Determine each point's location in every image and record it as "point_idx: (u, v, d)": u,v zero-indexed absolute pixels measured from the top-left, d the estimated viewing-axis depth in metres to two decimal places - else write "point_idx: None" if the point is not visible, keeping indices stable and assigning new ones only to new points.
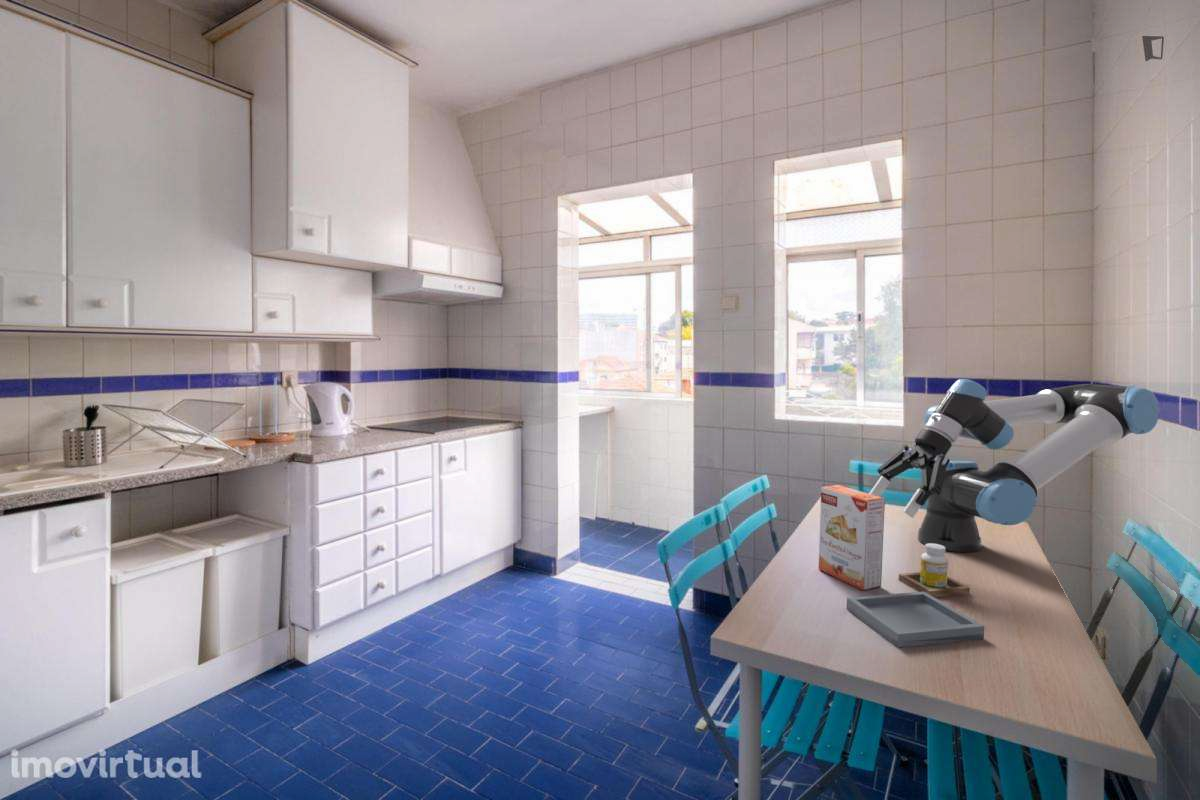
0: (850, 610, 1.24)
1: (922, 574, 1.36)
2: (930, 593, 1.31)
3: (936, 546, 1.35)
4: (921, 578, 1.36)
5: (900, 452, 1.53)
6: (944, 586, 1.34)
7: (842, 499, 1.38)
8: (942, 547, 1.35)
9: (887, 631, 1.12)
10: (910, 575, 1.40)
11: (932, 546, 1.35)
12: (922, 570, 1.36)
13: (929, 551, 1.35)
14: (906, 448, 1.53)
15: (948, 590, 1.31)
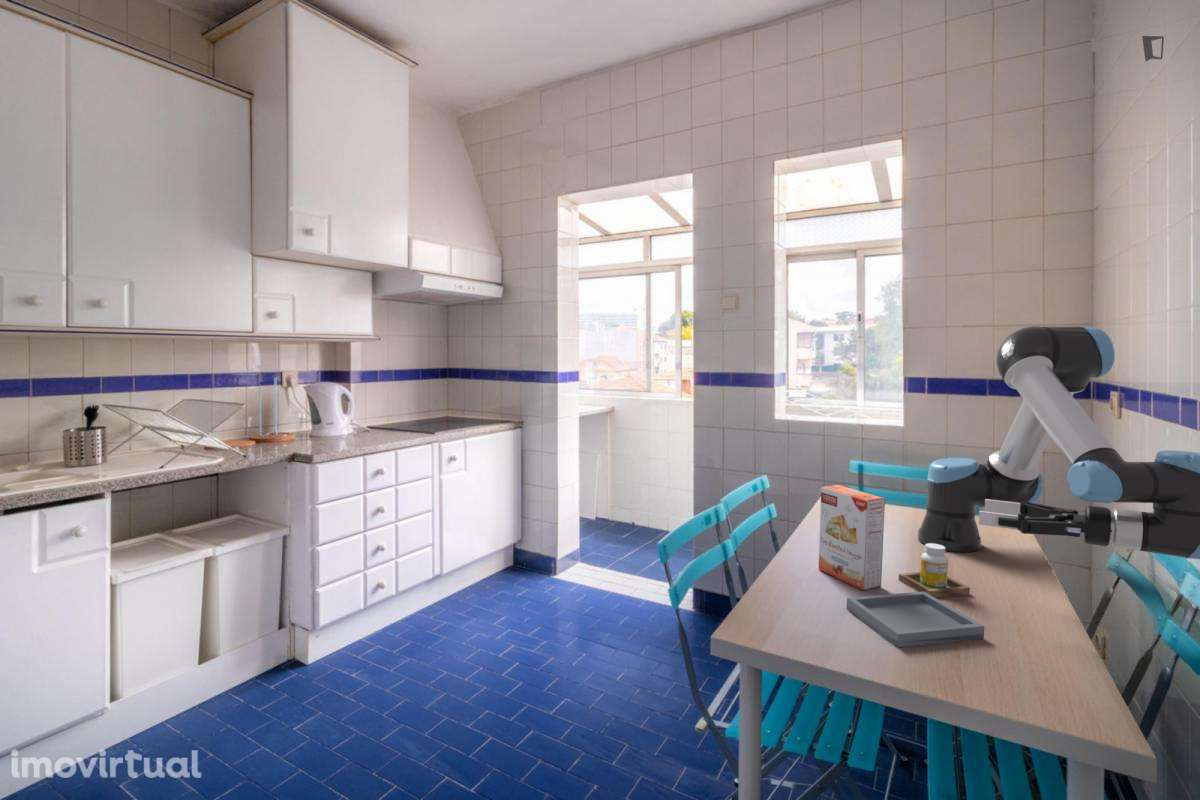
0: (850, 610, 1.24)
1: (922, 574, 1.36)
2: (930, 593, 1.31)
3: (936, 546, 1.35)
4: (921, 578, 1.36)
5: None
6: (944, 586, 1.34)
7: (842, 499, 1.38)
8: (942, 547, 1.35)
9: (887, 631, 1.12)
10: (910, 575, 1.40)
11: (932, 546, 1.35)
12: (922, 570, 1.36)
13: (929, 551, 1.35)
14: None
15: (948, 590, 1.31)
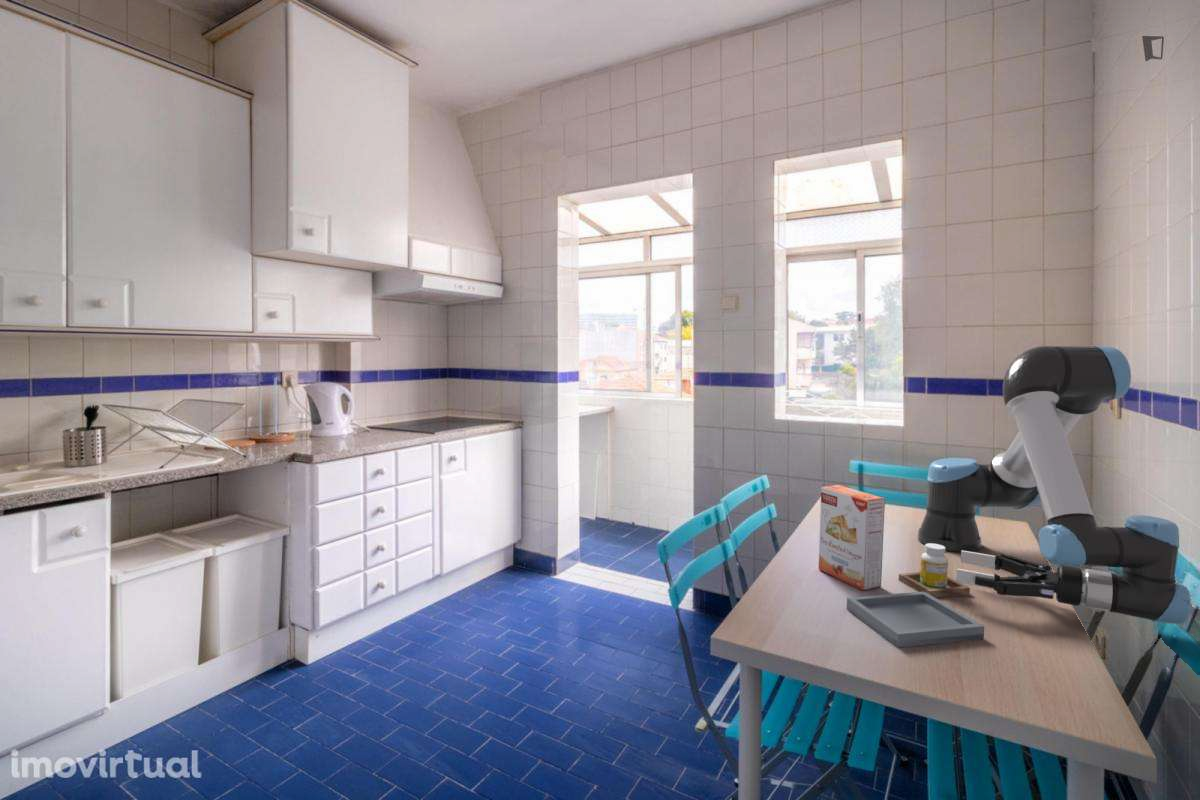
0: (850, 610, 1.24)
1: (922, 574, 1.36)
2: (930, 593, 1.31)
3: (936, 546, 1.35)
4: (921, 578, 1.36)
5: None
6: (944, 586, 1.34)
7: (842, 499, 1.38)
8: (942, 547, 1.35)
9: (887, 631, 1.12)
10: (910, 575, 1.40)
11: (932, 546, 1.35)
12: (922, 570, 1.36)
13: (929, 551, 1.35)
14: None
15: (948, 590, 1.31)
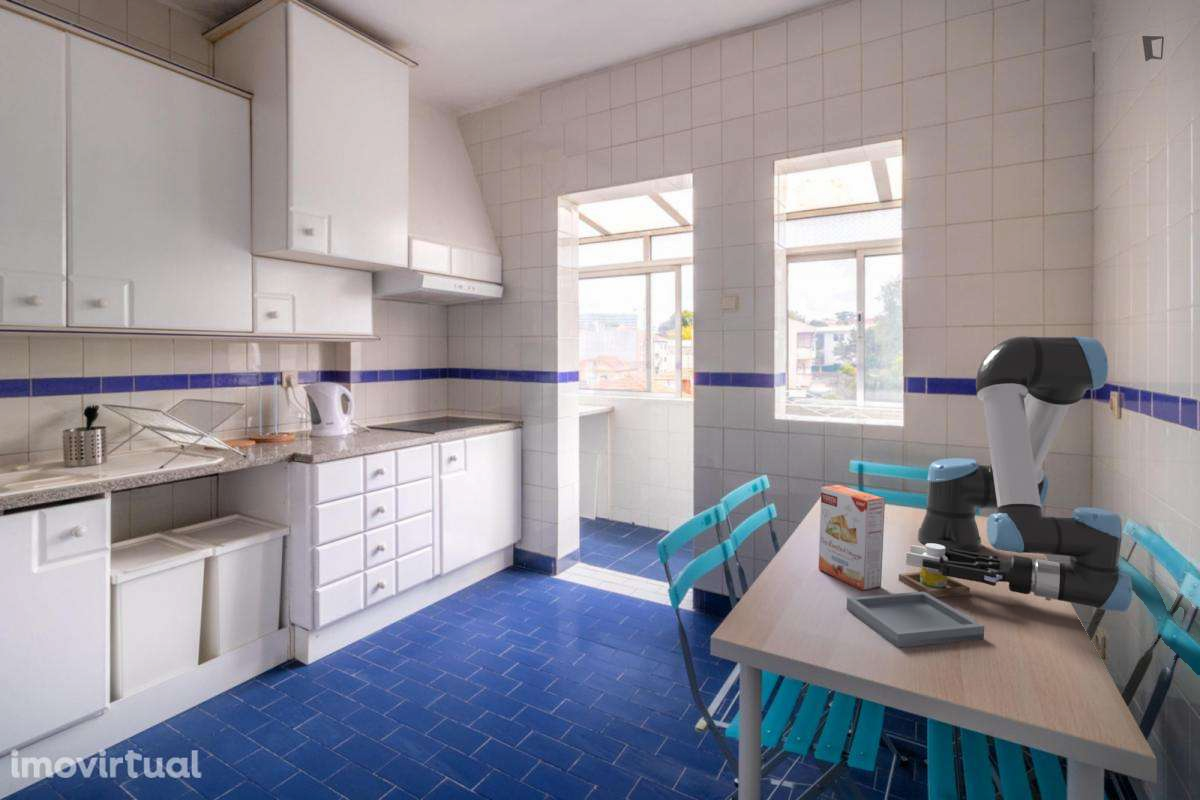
0: (850, 610, 1.24)
1: (922, 574, 1.36)
2: (930, 593, 1.31)
3: (936, 546, 1.35)
4: (921, 578, 1.36)
5: None
6: (944, 586, 1.34)
7: (842, 499, 1.38)
8: (942, 547, 1.35)
9: (887, 631, 1.12)
10: (910, 575, 1.40)
11: (932, 546, 1.35)
12: (922, 570, 1.36)
13: (929, 551, 1.35)
14: None
15: (948, 590, 1.31)
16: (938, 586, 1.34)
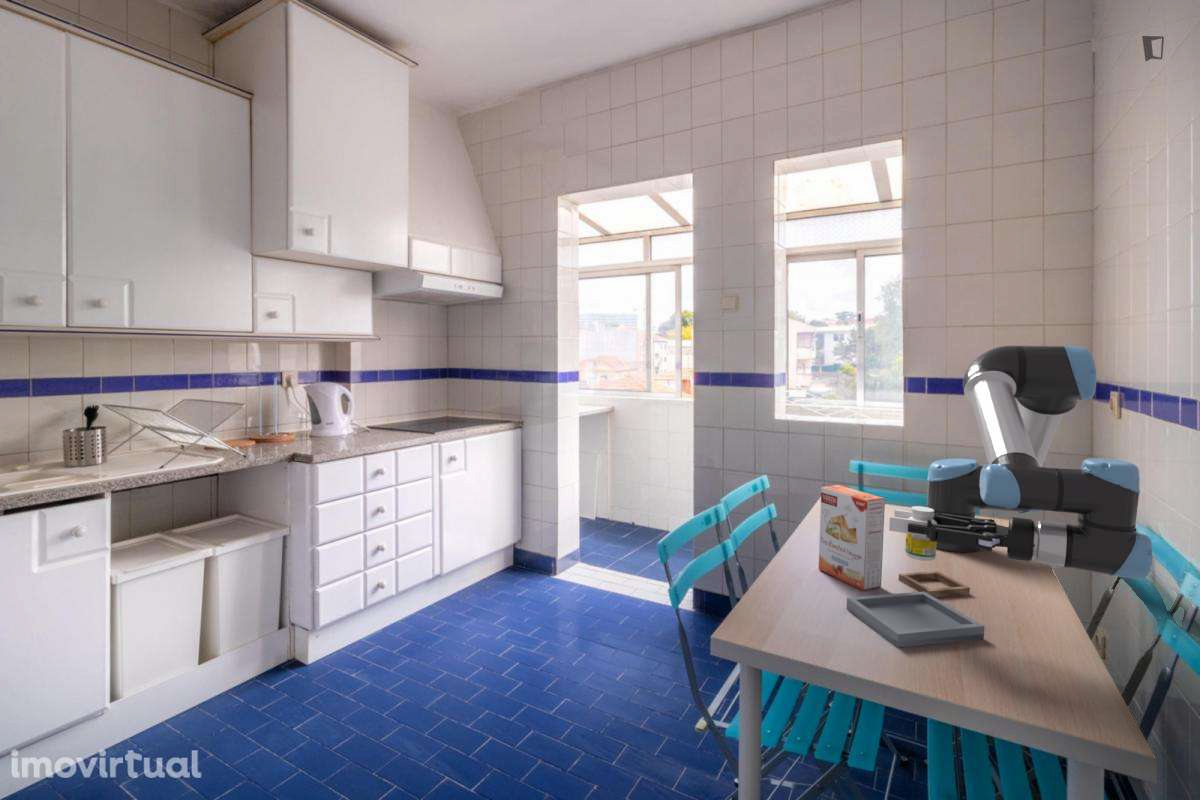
0: (850, 610, 1.24)
1: (908, 541, 1.18)
2: (930, 593, 1.31)
3: (924, 509, 1.18)
4: (907, 546, 1.19)
5: None
6: (933, 554, 1.16)
7: (842, 499, 1.38)
8: (930, 510, 1.17)
9: (887, 631, 1.12)
10: (910, 575, 1.40)
11: (919, 509, 1.18)
12: (908, 537, 1.18)
13: (915, 514, 1.17)
14: None
15: (948, 590, 1.31)
16: (926, 554, 1.16)
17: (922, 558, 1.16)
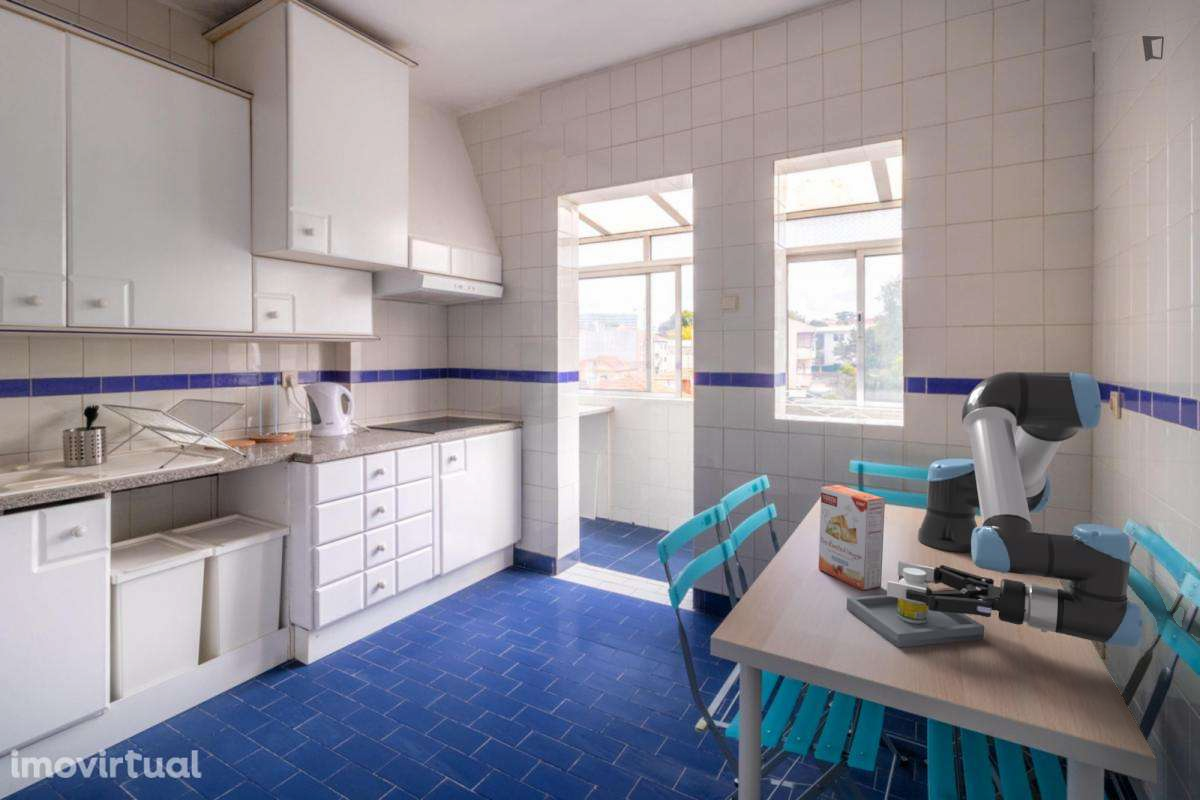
0: (850, 610, 1.24)
1: (899, 603, 1.18)
2: None
3: (915, 571, 1.18)
4: (898, 608, 1.19)
5: None
6: (924, 618, 1.16)
7: (842, 499, 1.38)
8: (922, 573, 1.17)
9: (887, 631, 1.12)
10: None
11: (911, 571, 1.18)
12: (899, 599, 1.18)
13: (907, 577, 1.17)
14: None
15: (948, 590, 1.31)
16: (917, 618, 1.16)
17: (914, 621, 1.16)
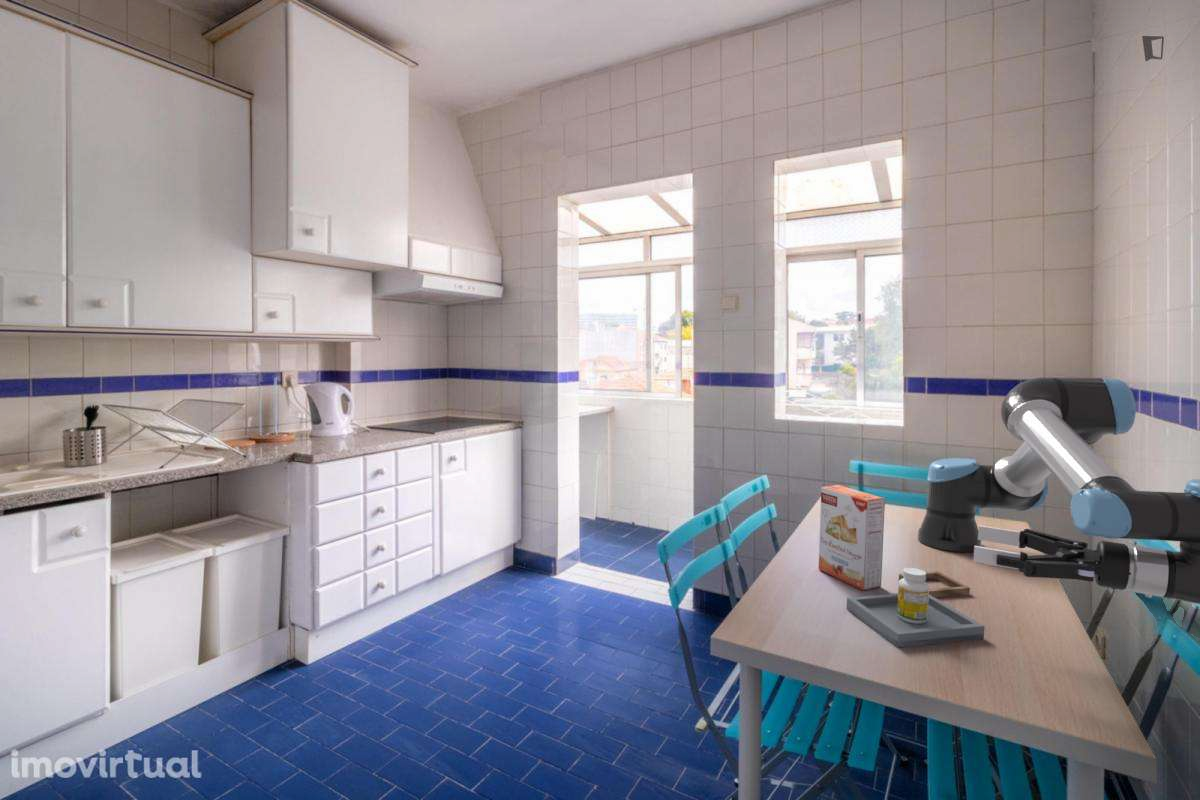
0: (850, 610, 1.24)
1: (899, 603, 1.18)
2: (930, 593, 1.31)
3: (915, 571, 1.18)
4: (898, 608, 1.19)
5: None
6: (924, 618, 1.16)
7: (842, 499, 1.38)
8: (922, 573, 1.17)
9: (887, 631, 1.12)
10: None
11: (911, 571, 1.18)
12: (899, 599, 1.18)
13: (907, 577, 1.17)
14: None
15: (948, 590, 1.31)
16: (917, 618, 1.16)
17: (914, 621, 1.16)
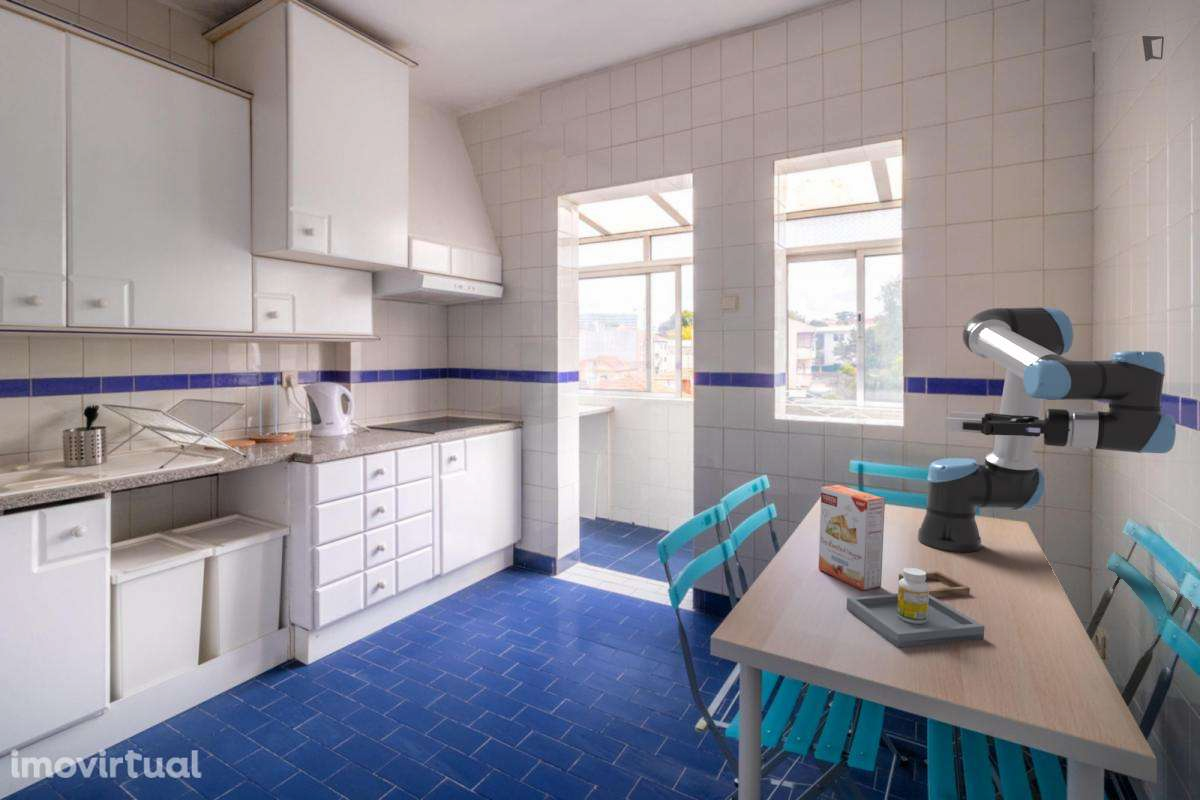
0: (850, 610, 1.24)
1: (899, 603, 1.18)
2: (930, 593, 1.31)
3: (915, 571, 1.18)
4: (898, 608, 1.19)
5: None
6: (924, 618, 1.16)
7: (842, 499, 1.38)
8: (922, 573, 1.17)
9: (887, 631, 1.12)
10: None
11: (911, 571, 1.18)
12: (899, 599, 1.18)
13: (907, 577, 1.17)
14: None
15: (948, 590, 1.31)
16: (917, 618, 1.16)
17: (914, 621, 1.16)
